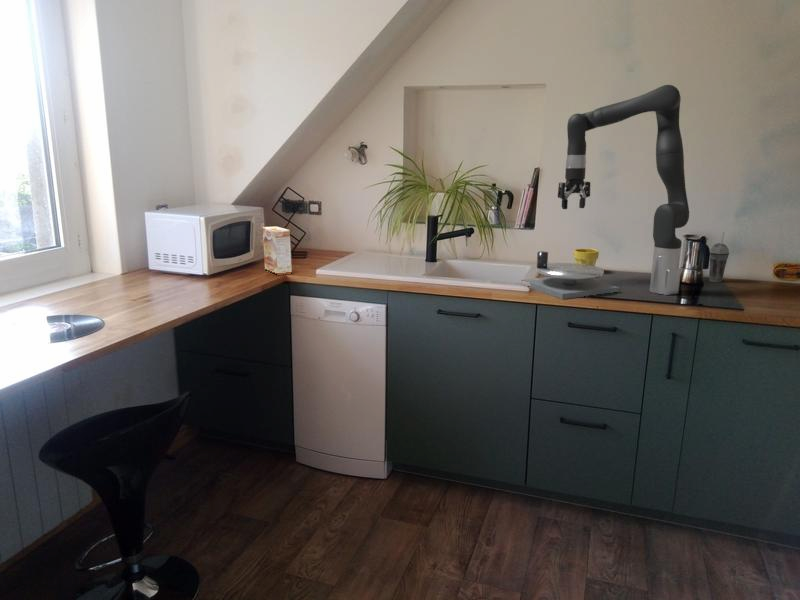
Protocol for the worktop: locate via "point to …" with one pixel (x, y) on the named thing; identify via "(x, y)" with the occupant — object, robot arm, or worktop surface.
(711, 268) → the beverage cup
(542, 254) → the handwheel
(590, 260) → the plant pot
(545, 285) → the wheel base
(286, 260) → the coffeecake box
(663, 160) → the robot arm
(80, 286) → the worktop surface
